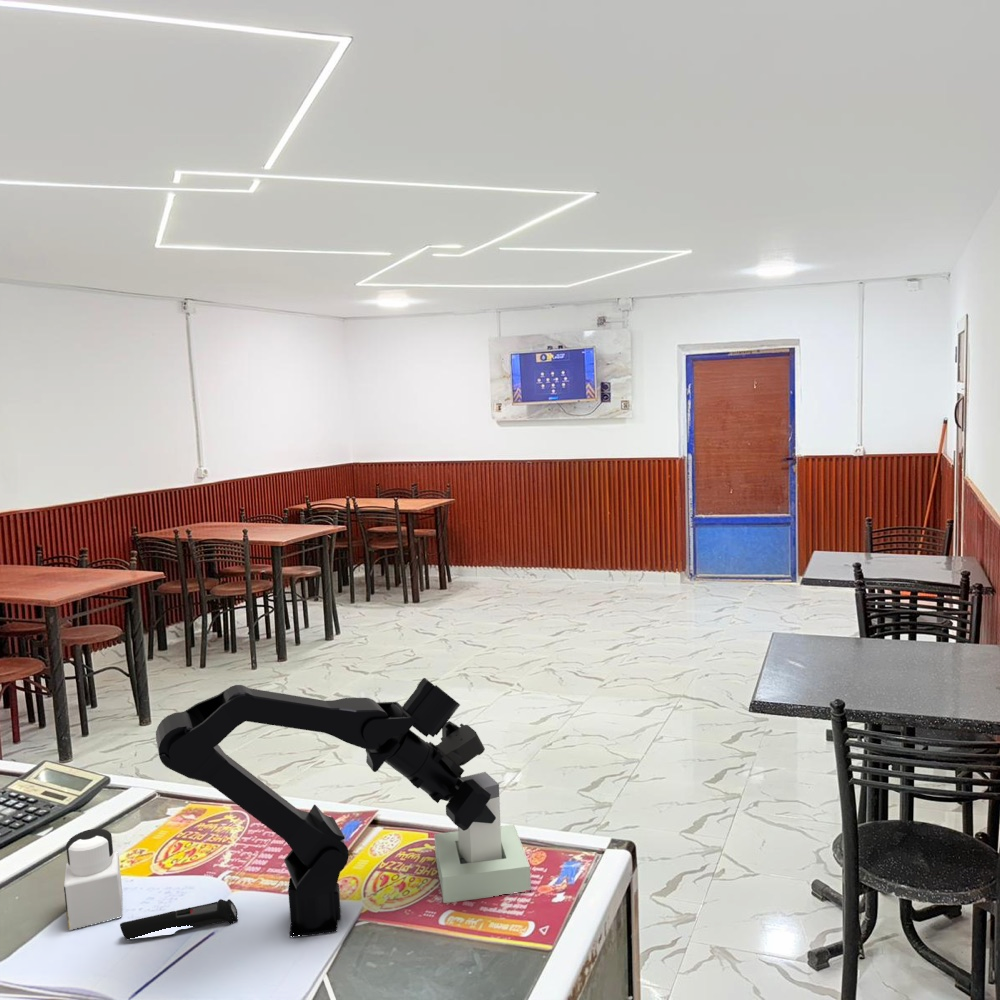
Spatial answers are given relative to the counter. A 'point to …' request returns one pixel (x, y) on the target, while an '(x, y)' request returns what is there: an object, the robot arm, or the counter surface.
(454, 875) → the sage block
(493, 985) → the counter surface
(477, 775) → the white plug block
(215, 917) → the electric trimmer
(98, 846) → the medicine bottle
